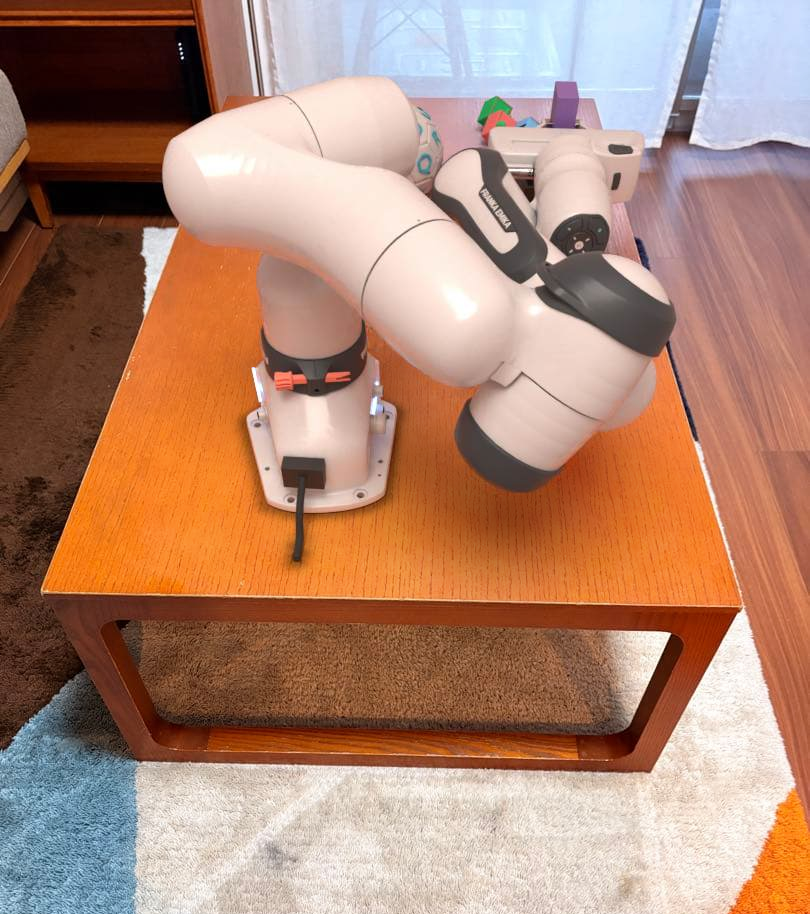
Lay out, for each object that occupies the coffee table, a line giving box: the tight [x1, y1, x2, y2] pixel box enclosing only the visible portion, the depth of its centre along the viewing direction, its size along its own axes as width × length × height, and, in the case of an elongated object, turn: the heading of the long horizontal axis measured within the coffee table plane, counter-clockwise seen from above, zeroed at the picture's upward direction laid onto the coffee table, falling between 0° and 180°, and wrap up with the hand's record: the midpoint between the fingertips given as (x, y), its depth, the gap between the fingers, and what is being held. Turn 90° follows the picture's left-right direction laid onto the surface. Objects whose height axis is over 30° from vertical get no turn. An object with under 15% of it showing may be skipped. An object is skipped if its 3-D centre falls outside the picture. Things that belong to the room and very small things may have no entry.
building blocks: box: [477, 95, 541, 142], centre depth 145 cm, size 8×8×12 cm
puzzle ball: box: [407, 103, 444, 195], centre depth 130 cm, size 15×15×15 cm
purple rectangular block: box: [549, 80, 580, 129], centre depth 112 cm, size 5×3×11 cm, turn 177°
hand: (561, 124), depth 112 cm, fingers closed on purple rectangular block, 3 cm apart
